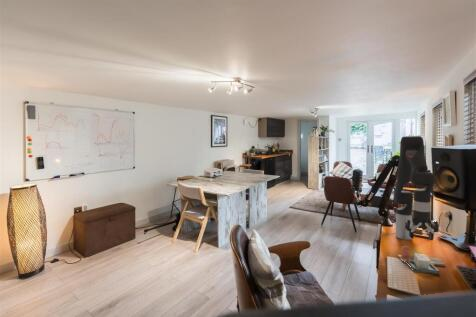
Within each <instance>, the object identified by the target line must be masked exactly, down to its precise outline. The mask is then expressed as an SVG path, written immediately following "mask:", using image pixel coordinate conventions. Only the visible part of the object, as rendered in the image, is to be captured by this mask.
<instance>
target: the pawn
mask: <svg viewBox="0 0 476 317" xmlns="http://www.w3.org/2000/svg"><path fill="white" fill-rule="evenodd" d="M401 255H402V256H401V258H403V259H406V260H409V259H410V257H409V256H410V248H409V246H407V245H403V246H402V248H401Z"/></svg>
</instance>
